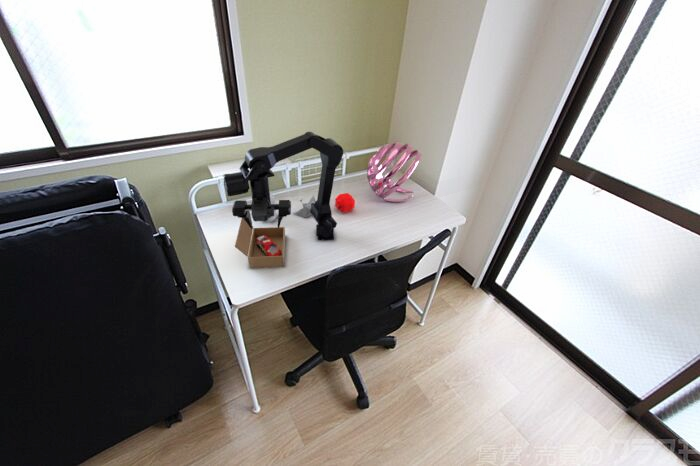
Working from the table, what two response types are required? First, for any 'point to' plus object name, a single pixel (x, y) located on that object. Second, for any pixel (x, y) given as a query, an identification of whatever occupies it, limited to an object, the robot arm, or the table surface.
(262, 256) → the carton
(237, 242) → the flap
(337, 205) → the ball
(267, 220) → the can
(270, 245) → the race car
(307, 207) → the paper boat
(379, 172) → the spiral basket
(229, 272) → the table surface
